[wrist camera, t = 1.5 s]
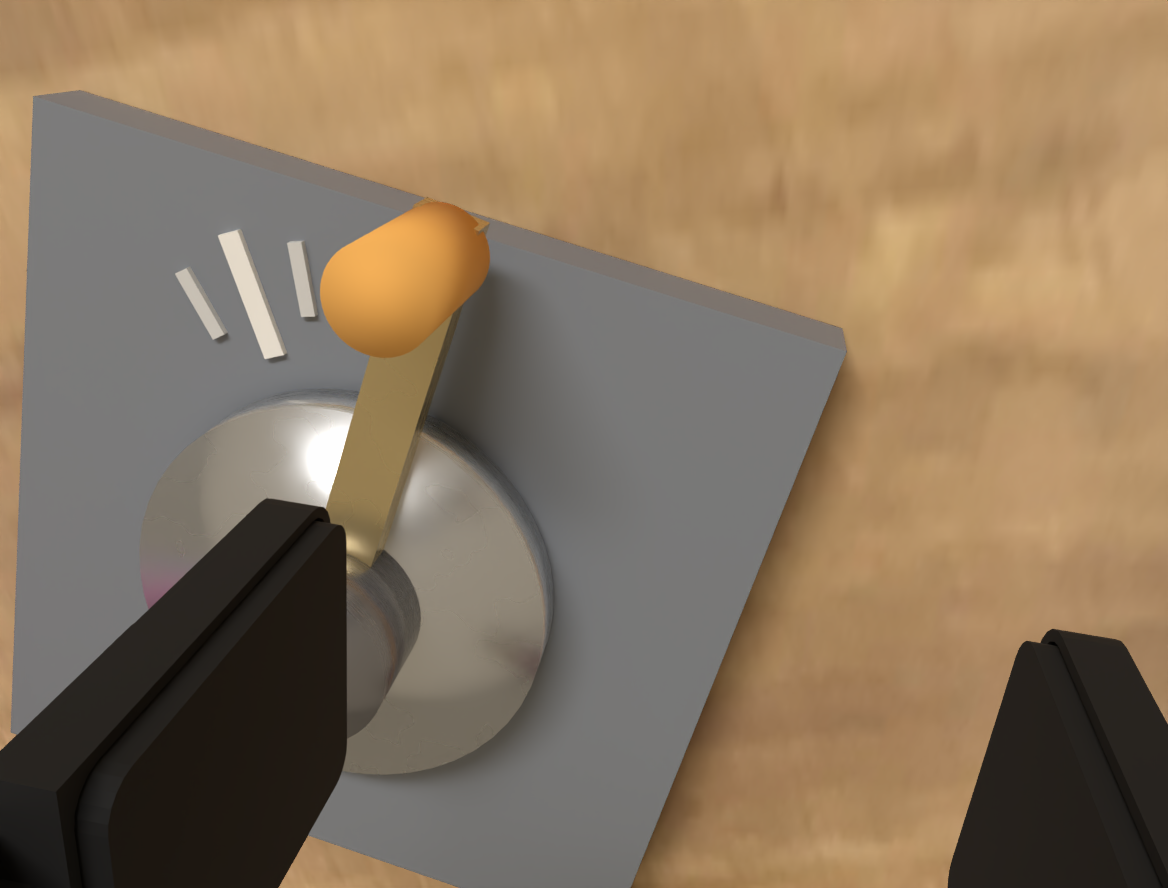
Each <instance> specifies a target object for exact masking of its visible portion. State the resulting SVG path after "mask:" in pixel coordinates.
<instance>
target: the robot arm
mask: <svg viewBox="0 0 1168 888" xmlns="http://www.w3.org/2000/svg"><path fill="white" fill-rule="evenodd" d="M346 752H347V549H346V533H345V530H344V528H343V526H342V525H338V524H332V523H331V522H330V517H329V514H328V511H327V510H326V509H325V508H324V507H320V506H314V505H308V504H302V503H296V502H290V501H284V500H278V499H272V498H266V499H264V500H263V501H261V502H260V503H259V504H258V505H257V506H256V507H255V508H254V509H253V510H252V511H250V512H249V513H248V514H247V515H246V516H245V517H244V518H243V519H242V520H241V521H240V522H239V523H238V524H237V525H236V526H235V527H234V528H233V529H232V530H231V531H230V532H229V533H228V534H227V535H226V536H225V537H223V538H222V539H221V540H220V541H219V542H218V543H217V544H216V545H215V546H214V547H213V548H212V549H211V550H210V551H209V552H208V553H207V554H206V555H205V556H204V557H203V558H202V559H201V560H200V561H199V562H197V563H196V564H195V565H194V566H193V567H192V568H191V569H190V570H189V571H188V572H187V573H186V574H185V575H184V576H183V577H182V578H181V579H180V580H179V581H178V582H177V583H176V584H175V585H174V586H173V587H171V588H170V589H169V590H168V591H167V592H166V593H165V594H164V595H163V596H162V597H161V598H160V599H159V600H158V601H157V602H156V603H155V604H154V605H153V606H152V607H151V608H150V609H149V610H148V611H147V612H146V613H144V614H143V615H142V616H141V617H140V618H139V619H138V620H137V621H136V622H135V623H134V624H132V625H131V626H130V627H129V628H128V629H127V630H126V631H125V632H124V633H123V634H122V635H121V636H120V637H118V638H117V639H116V640H115V641H114V642H113V643H112V644H111V645H110V646H109V647H108V648H107V649H106V650H105V651H104V652H103V653H102V654H101V655H100V656H99V657H98V658H97V659H96V660H95V661H93V662H92V663H91V664H90V665H89V666H88V667H87V668H86V669H85V670H84V671H83V672H82V673H81V674H80V675H79V676H78V677H77V678H76V679H75V680H74V681H73V682H72V683H71V684H70V685H68V686H67V687H66V688H65V689H64V690H63V691H62V692H61V693H60V694H59V695H58V696H57V697H56V698H55V699H54V700H53V701H52V702H51V703H50V704H49V705H48V706H47V707H46V708H45V709H44V710H42V711H41V712H40V713H39V714H38V715H37V716H36V717H35V718H34V719H33V720H32V721H31V722H30V723H29V724H28V725H27V726H26V727H25V728H24V729H23V730H22V731H21V732H20V733H19V734H17V735H16V736H15V737H14V738H13V739H12V740H11V741H10V742H9V743H8V744H7V745H6V746H5V747H4V748H3V749H2V750H1V751H0V888H278V887H279V886H280V884H281V882H282V880H283V879H284V877H285V875H286V873H287V872H288V870H289V868H290V866H291V864H292V863H293V861H294V859H295V857H296V856H297V854H298V852H299V850H300V849H301V847H302V845H303V843H304V842H305V840H306V838H307V836H308V834H309V833H310V831H311V829H312V827H313V826H314V824H315V822H316V820H317V819H318V817H319V815H320V813H321V811H322V810H323V808H324V806H325V804H326V803H327V801H328V799H329V797H330V796H331V794H332V792H333V790H334V789H335V787H336V785H337V783H338V781H339V778H340V776H341V773H342V770H343V766H344V762H345V758H346ZM948 888H1168V724H1167V722H1166V720H1165V718H1164V717H1163V715H1162V713H1161V711H1160V709H1159V707H1158V705H1157V704H1156V702H1155V700H1154V698H1153V696H1152V694H1151V692H1150V691H1149V689H1148V687H1147V685H1146V683H1145V681H1144V679H1143V678H1142V676H1141V674H1140V672H1139V670H1138V668H1137V666H1136V665H1135V663H1134V661H1133V659H1132V657H1131V655H1130V653H1129V652H1128V650H1127V648H1126V647H1125V645H1124V644H1123V643H1122V642H1121V641H1119V640H1116V639H1110V638H1104V637H1098V636H1092V635H1086V634H1080V633H1074V632H1068V631H1062V630H1056V629H1051V630H1050V631H1048V632H1047V633H1046V634H1045V636H1044V637H1043V639H1042V641H1041V643H1037V642H1031V641H1026V642H1024V643H1023V644H1022V645H1021V647H1020V648H1019V650H1018V653H1017V655H1016V658H1015V661H1014V665H1013V668H1012V671H1011V674H1010V677H1009V681H1008V684H1007V687H1006V690H1005V693H1004V696H1003V700H1002V703H1001V706H1000V709H999V712H998V715H997V719H996V722H995V725H994V728H993V731H992V735H991V738H990V741H989V744H988V747H987V750H986V754H985V757H984V760H983V763H982V766H981V770H980V773H979V776H978V779H977V782H976V785H975V789H974V792H973V795H972V798H971V801H970V804H969V808H968V811H967V814H966V817H965V820H964V824H963V827H962V830H961V833H960V836H959V839H958V843H957V846H956V849H955V852H954V855H953V859H952V862H951V866H950V870H949V878H948Z"/></svg>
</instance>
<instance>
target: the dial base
mask: <svg viewBox="0 0 1168 888" xmlns="http://www.w3.org/2000/svg"><path fill="white" fill-rule="evenodd" d="M423 199H425V198H423V197H420V196H417V195H414V194H410V193H407V192H404V191H401V190H398V189H394V188H391V187H388V186H385V185H382V184H378V183H375V182H372V181H369V180H366V179H362V178H359V177H356V176H353V175H350V174H346V173H343V172H340V171H337V170H334V169H330V168H327V167H324V166H321V165H318V164H314V163H311V162H308V161H305V160H302V159H298V158H295V157H292V156H289V155H286V154H282V153H279V152H276V151H273V150H270V149H266V148H263V147H260V146H257V145H254V144H250V143H247V142H244V141H241V140H238V139H234V138H231V137H228V136H225V135H222V134H218V133H215V132H212V131H209V130H206V129H202V128H199V127H196V126H193V125H190V124H186V123H183V122H180V121H177V120H174V119H170V118H167V117H164V116H161V115H158V114H154V113H151V112H148V111H145V110H142V109H138V108H135V107H132V106H129V105H126V104H122V103H119V102H116V101H113V100H110V99H106V98H103V97H100V96H97V95H94V94H90V93H87V92H84V91H81V90H79V91H71V92H63V93H55V94H47V95H39V96H33V120H32V148H31V176H30V205H29V233H28V261H27V289H26V317H25V346H24V374H23V402H22V430H21V458H20V487H19V515H18V543H17V571H16V599H15V628H14V656H13V684H12V712H11V733H14V734H19V733H20V732H21V731H22V730H23V729H24V728H25V727H26V726H27V725H28V724H29V723H30V722H31V721H32V720H33V719H34V718H35V717H36V716H37V715H38V714H39V713H40V712H41V711H42V710H44V709H45V708H46V707H47V706H48V705H49V704H50V703H51V702H52V701H53V700H54V699H55V698H56V697H57V696H58V695H59V694H60V693H61V692H62V691H63V690H64V689H65V688H66V687H67V686H68V685H70V684H71V683H72V682H73V681H74V680H75V679H76V678H77V677H78V676H79V675H80V674H81V673H82V672H83V671H84V670H85V669H86V668H87V667H88V666H89V665H90V664H91V663H92V662H93V661H95V660H96V659H97V658H98V657H99V656H100V655H101V654H102V653H103V652H104V651H105V650H106V649H107V648H108V647H109V646H110V645H111V644H112V643H113V642H114V641H115V640H116V639H117V638H118V637H120V636H121V635H122V634H123V633H124V632H125V631H126V630H127V629H128V628H129V627H130V626H131V625H132V624H134V623H135V622H136V621H137V620H138V619H139V618H140V617H141V616H142V615H143V614H144V613H146V612H147V611H148V610H149V609H148V606H147V602H146V599H145V596H144V592H143V586H142V580H141V574H140V554H139V546H140V537H141V529H142V523H143V519H144V516H145V512H146V509H147V505H148V502H149V500H150V498H151V496H152V493H153V491H154V489H155V487H156V485H157V483H158V481H159V480H160V478H161V477H162V475H163V474H164V472H165V471H166V470H167V468H168V467H169V465H170V464H171V463H172V462H173V461H174V460H175V459H176V458H177V456H178V455H179V454H180V453H181V452H182V451H183V450H184V449H185V448H186V447H187V446H189V445H190V444H191V443H193V442H194V441H195V440H197V439H198V438H199V437H201V436H202V435H203V434H205V433H206V432H207V431H209V430H210V429H211V428H213V427H214V426H215V425H217V424H218V423H219V422H221V421H222V420H224V419H225V418H226V417H228V416H229V415H230V414H232V413H233V412H235V411H237V410H239V409H241V408H243V407H245V406H247V405H249V404H251V403H253V402H255V401H258V400H261V399H264V398H267V397H270V396H273V395H276V394H280V393H285V392H291V391H296V390H302V389H322V388H332V389H343V390H355V391H360V388H361V385H362V381H363V378H364V375H365V371H366V368H367V364H368V361H369V357H370V356H369V355H366V354H363V353H361V352H359V351H357V350H355V349H353V348H352V347H350V346H349V345H347V344H346V343H345V342H344V341H342V340H341V339H340V338H339V337H338V335H337V334H336V333H335V332H334V331H333V329H332V328H331V326H330V324H329V323H328V321H327V319H326V317H325V315H324V312H323V308H322V304H321V299H320V284H321V278H322V275H323V272H324V269H325V267H326V265H327V263H328V262H329V260H330V259H331V258H332V257H333V256H334V254H335V253H336V252H338V251H339V250H340V249H341V248H343V247H345V246H347V245H348V244H350V243H352V242H354V241H356V240H357V239H359V238H361V237H363V236H364V235H366V234H368V233H370V232H372V231H373V230H375V229H377V228H379V227H381V226H382V225H384V224H386V223H388V222H389V221H391V220H393V219H395V218H397V217H398V216H400V215H402V214H404V213H405V212H407V211H409V210H411V209H413V205H414V204H416V203H417V202H419V201H421V200H423ZM464 211H465V210H464ZM466 212H467V213H468V214H470V215H472V216H475V217H477V218H480V219H482V220H484V221H487V222H489V223H490V225H489V228H488V231H487V234H486V239H487V241H488V245H489V251H490V264H489V269H488V273H487V276H486V278H485V280H484V282H483V283H482V285H481V286H480V288H479V289H478V290H477V291H476V292H475V293H474V294H473V295H472V296H470V297H469V298H468V299H467V300H466V301H465V302H464V305H463V308H462V311H461V314H460V317H459V320H458V323H457V326H456V329H455V332H454V335H453V338H452V342H451V345H450V348H449V351H448V354H447V357H446V360H445V363H444V366H443V369H442V372H441V375H440V378H439V381H438V385H437V388H436V391H435V394H434V397H433V400H432V403H431V406H430V409H429V412H428V415H430V416H433V417H435V418H437V419H438V420H440V421H441V422H443V423H444V424H446V425H448V426H449V427H451V428H452V429H454V430H456V431H457V432H459V433H460V434H462V435H463V436H464V437H465V438H467V439H468V440H469V441H470V442H471V443H473V444H474V445H475V446H476V447H478V448H479V449H480V450H481V451H483V452H484V453H485V454H486V455H487V456H488V457H489V458H490V460H491V461H492V462H493V463H494V464H495V465H496V466H497V467H498V468H499V469H500V470H501V471H502V472H503V473H504V474H505V476H506V477H507V478H508V480H509V481H510V482H511V483H512V485H513V486H514V487H515V489H516V490H517V491H518V493H519V494H520V495H521V497H522V499H523V501H524V502H525V504H526V506H527V507H528V509H529V511H530V512H531V514H532V516H533V518H534V520H535V522H536V525H537V527H538V529H539V532H540V534H541V536H542V539H543V541H544V544H545V548H546V552H547V555H548V559H549V562H550V567H551V574H552V582H553V616H552V622H551V628H550V634H549V638H548V640H547V643H546V646H545V649H544V652H543V655H542V658H541V661H540V664H539V666H538V669H537V672H536V675H535V677H534V680H533V683H532V686H531V688H530V690H529V691H528V693H527V695H526V697H525V699H524V701H523V703H522V705H521V706H520V708H519V709H518V710H517V712H516V713H515V714H514V716H513V717H512V718H511V719H510V721H509V722H508V723H507V724H506V725H505V726H504V727H503V728H502V729H501V730H500V731H499V732H498V733H497V734H496V735H495V736H494V737H493V738H492V739H490V740H489V741H487V742H486V743H484V744H483V745H482V746H480V747H479V748H477V749H476V750H474V751H473V752H471V753H469V754H467V755H465V756H463V757H461V758H459V759H457V760H455V761H452V762H449V763H446V764H443V765H440V766H437V767H434V768H431V769H426V770H421V771H416V772H411V773H401V774H388V775H381V774H360V773H353V772H346V771H342V773H341V776H340V778H339V781H338V783H337V785H336V787H335V789H334V790H333V792H332V794H331V796H330V797H329V799H328V801H327V803H326V804H325V806H324V808H323V810H322V811H321V813H320V815H319V817H318V819H317V820H316V822H315V824H314V826H313V827H312V829H311V831H310V833H309V834H308V835H309V836H312V837H315V838H317V839H320V840H323V841H326V842H329V843H332V844H335V845H338V846H341V847H343V848H346V849H349V850H352V851H355V852H358V853H361V854H364V855H367V856H369V857H372V858H375V859H378V860H381V861H384V862H387V863H390V864H393V865H395V866H398V867H401V868H404V869H407V870H410V871H413V872H416V873H419V874H421V875H424V876H427V877H430V878H433V879H436V880H439V881H442V882H445V883H447V884H450V885H453V886H456V887H459V888H631V886H632V883H633V881H634V878H635V876H636V873H637V871H638V868H639V866H640V863H641V861H642V858H643V856H644V853H645V851H646V848H647V846H648V843H649V841H650V838H651V836H652V834H653V831H654V829H655V826H656V824H657V821H658V819H659V816H660V814H661V811H662V809H663V806H664V804H665V801H666V799H667V796H668V794H669V791H670V789H671V786H672V784H673V781H674V779H675V776H676V774H677V771H678V769H679V767H680V764H681V762H682V759H683V757H684V754H685V752H686V749H687V747H688V744H689V742H690V739H691V737H692V734H693V732H694V729H695V727H696V724H697V722H698V719H699V717H700V714H701V712H702V709H703V707H704V704H705V702H706V700H707V697H708V695H709V692H710V690H711V687H712V685H713V682H714V680H715V677H716V675H717V672H718V670H719V667H720V665H721V662H722V660H723V657H724V655H725V652H726V650H727V647H728V645H729V642H730V640H731V637H732V635H733V633H734V630H735V628H736V625H737V623H738V620H739V618H740V615H741V613H742V610H743V608H744V605H745V603H746V600H747V598H748V595H749V593H750V590H751V588H752V585H753V583H754V580H755V578H756V575H757V573H758V570H759V568H760V566H761V563H762V561H763V558H764V556H765V553H766V551H767V548H768V546H769V543H770V541H771V538H772V536H773V533H774V531H775V528H776V526H777V523H778V521H779V518H780V516H781V513H782V511H783V508H784V506H785V503H786V501H787V499H788V496H789V494H790V491H791V489H792V486H793V484H794V481H795V479H796V476H797V474H798V471H799V469H800V466H801V464H802V461H803V459H804V456H805V454H806V451H807V449H808V446H809V444H810V441H811V439H812V436H813V434H814V432H815V429H816V427H817V424H818V422H819V419H820V417H821V414H822V412H823V409H824V407H825V404H826V402H827V399H828V397H829V394H830V392H831V389H832V387H833V384H834V382H835V379H836V377H837V374H838V372H839V369H840V367H841V365H842V362H843V360H844V357H845V355H846V352H847V350H846V345H845V340H844V335H843V330H842V328H839V327H836V326H833V325H829V324H826V323H823V322H820V321H817V320H813V319H810V318H807V317H804V316H801V315H797V314H794V313H791V312H788V311H785V310H781V309H778V308H775V307H772V306H769V305H765V304H762V303H759V302H756V301H753V300H749V299H746V298H743V297H740V296H737V295H733V294H730V293H727V292H724V291H721V290H717V289H714V288H711V287H708V286H705V285H701V284H698V283H695V282H692V281H689V280H685V279H682V278H679V277H676V276H673V275H669V274H666V273H663V272H660V271H657V270H653V269H650V268H647V267H644V266H641V265H637V264H634V263H631V262H628V261H625V260H621V259H618V258H615V257H612V256H609V255H605V254H602V253H599V252H596V251H593V250H589V249H586V248H583V247H580V246H577V245H573V244H570V243H567V242H564V241H561V240H557V239H554V238H551V237H548V236H545V235H541V234H538V233H535V232H532V231H529V230H526V229H522V228H519V227H516V226H513V225H510V224H506V223H503V222H500V221H497V220H494V219H490V218H487V217H484V216H481V215H478V214H474V213H471V212H468V211H466Z"/></svg>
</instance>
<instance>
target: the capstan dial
mask: <svg viewBox="0 0 1168 888" xmlns="http://www.w3.org/2000/svg"><path fill="white" fill-rule="evenodd" d="M489 225H490V223H489V222H487V221H484V220H482V219H480V218H477V217H475V216H472V215H470V214H468V213H467V212H466V211H464V210H462V209H461V208H459V207H457V206H454V205H451V204H448V203H443V202H438V201H436V200H433V199H431V198H428V197H427V198H425V199H423V200H421V201H419V202H417V203H416V204H414V205H413V209H411V210H409V211H407V212H405V213H404V214H402V215H400V216H398V217H397V218H395V219H393V220H391V221H389V222H388V223H386V224H384V225H382V226H381V227H379V228H377V229H375V230H373V231H372V232H370V233H368V234H366V235H364V236H363V237H361V238H359V239H357V240H356V241H354V242H352V243H350V244H348V245H347V246H345V247H343V248H341V249H340V250H339V251H338V252H336V253H335V254H334V256H333V257H332V258H331V259H330V260H329V262H328V263H327V265H326V267H325V269H324V272H323V275H322V278H321V284H320V299H321V304H322V308H323V312H324V315H325V317H326V319H327V321H328V323H329V324H330V326H331V328H332V329H333V331H334V332H335V333H336V334H337V335H338V337H339V338H340V339H341V340H342V341H344V342H345V343H346V344H347V345H349V346H350V347H352V348H353V349H355V350H357V351H359V352H361V353H363V354H366V355H369V356H370V357H369V361H368V364H367V368H366V371H365V375H364V378H363V381H362V385H361V388H360V391H355V390H343V389H332V388H322V389H302V390H296V391H291V392H285V393H280V394H276V395H273V396H270V397H267V398H264V399H261V400H258V401H255V402H253V403H251V404H249V405H247V406H245V407H243V408H241V409H239V410H237V411H235V412H233V413H232V414H230V415H229V416H228V417H226V418H225V419H224V420H222V421H221V422H219V423H218V424H217V425H215V426H214V427H213V428H211V429H210V430H209V431H207V432H206V433H205V434H203V435H202V436H201V437H199V438H198V439H197V440H195V441H194V442H193V443H191V444H190V445H189V446H187V447H186V448H185V449H184V450H183V451H182V452H181V453H180V454H179V455H178V456H177V458H176V459H175V460H174V461H173V462H172V463H171V464H170V465H169V467H168V468H167V470H166V471H165V472H164V474H163V475H162V477H161V478H160V480H159V481H158V483H157V485H156V487H155V489H154V491H153V493H152V496H151V498H150V500H149V502H148V505H147V509H146V512H145V516H144V519H143V523H142V529H141V537H140V546H139V554H140V574H141V580H142V586H143V592H144V596H145V599H146V602H147V606H148V609H150V608H151V607H152V606H153V605H154V604H155V603H156V602H157V601H158V600H159V599H160V598H161V597H162V596H163V595H164V594H165V593H166V592H167V591H168V590H169V589H170V588H171V587H173V586H174V585H175V584H176V583H177V582H178V581H179V580H180V579H181V578H182V577H183V576H184V575H185V574H186V573H187V572H188V571H189V570H190V569H191V568H192V567H193V566H194V565H195V564H196V563H197V562H199V561H200V560H201V559H202V558H203V557H204V556H205V555H206V554H207V553H208V552H209V551H210V550H211V549H212V548H213V547H214V546H215V545H216V544H217V543H218V542H219V541H220V540H221V539H222V538H223V537H225V536H226V535H227V534H228V533H229V532H230V531H231V530H232V529H233V528H234V527H235V526H236V525H237V524H238V523H239V522H240V521H241V520H242V519H243V518H244V517H245V516H246V515H247V514H248V513H249V512H250V511H252V510H253V509H254V508H255V507H256V506H257V505H258V504H259V503H260V502H261V501H263V500H264V499H266V498H272V499H278V500H284V501H290V502H296V503H302V504H308V505H314V506H320V507H324V508H325V509H326V510H327V511H328V514H329V517H330V522H331V523H332V524H338V525H342V526H343V528H344V530H345V533H346V549H347V752H346V758H345V762H344V766H343V770H342V771H346V772H353V773H360V774H381V775H388V774H401V773H411V772H416V771H421V770H426V769H431V768H434V767H437V766H440V765H443V764H446V763H449V762H452V761H455V760H457V759H459V758H461V757H463V756H465V755H467V754H469V753H471V752H473V751H474V750H476V749H477V748H479V747H480V746H482V745H483V744H484V743H486V742H487V741H489V740H490V739H492V738H493V737H494V736H495V735H496V734H497V733H498V732H499V731H500V730H501V729H502V728H503V727H504V726H505V725H506V724H507V723H508V722H509V721H510V719H511V718H512V717H513V716H514V714H515V713H516V712H517V710H518V709H519V708H520V706H521V705H522V703H523V701H524V699H525V697H526V695H527V693H528V691H529V690H530V688H531V686H532V683H533V680H534V677H535V675H536V672H537V669H538V666H539V664H540V661H541V658H542V655H543V652H544V649H545V646H546V643H547V640H548V638H549V634H550V628H551V622H552V616H553V582H552V574H551V567H550V562H549V559H548V555H547V552H546V548H545V544H544V541H543V539H542V536H541V534H540V532H539V529H538V527H537V525H536V522H535V520H534V518H533V516H532V514H531V512H530V511H529V509H528V507H527V506H526V504H525V502H524V501H523V499H522V497H521V495H520V494H519V493H518V491H517V490H516V489H515V487H514V486H513V485H512V483H511V482H510V481H509V480H508V478H507V477H506V476H505V474H504V473H503V472H502V471H501V470H500V469H499V468H498V467H497V466H496V465H495V464H494V463H493V462H492V461H491V460H490V458H489V457H488V456H487V455H486V454H485V453H484V452H483V451H481V450H480V449H479V448H478V447H476V446H475V445H474V444H473V443H471V442H470V441H469V440H468V439H467V438H465V437H464V436H463V435H462V434H460V433H459V432H457V431H456V430H454V429H452V428H451V427H449V426H448V425H446V424H444V423H443V422H441V421H440V420H438V419H437V418H435V417H433V416H430V415H428V412H429V409H430V406H431V403H432V400H433V397H434V394H435V391H436V388H437V385H438V381H439V378H440V375H441V372H442V369H443V366H444V363H445V360H446V357H447V354H448V351H449V348H450V345H451V342H452V338H453V335H454V332H455V329H456V326H457V323H458V320H459V317H460V314H461V311H462V308H463V305H464V302H465V301H466V300H467V299H468V298H469V297H470V296H472V295H473V294H474V293H475V292H476V291H477V290H478V289H479V288H480V286H481V285H482V283H483V282H484V280H485V278H486V276H487V273H488V269H489V264H490V251H489V245H488V241H487V239H486V234H487V231H488V228H489Z"/></svg>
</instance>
